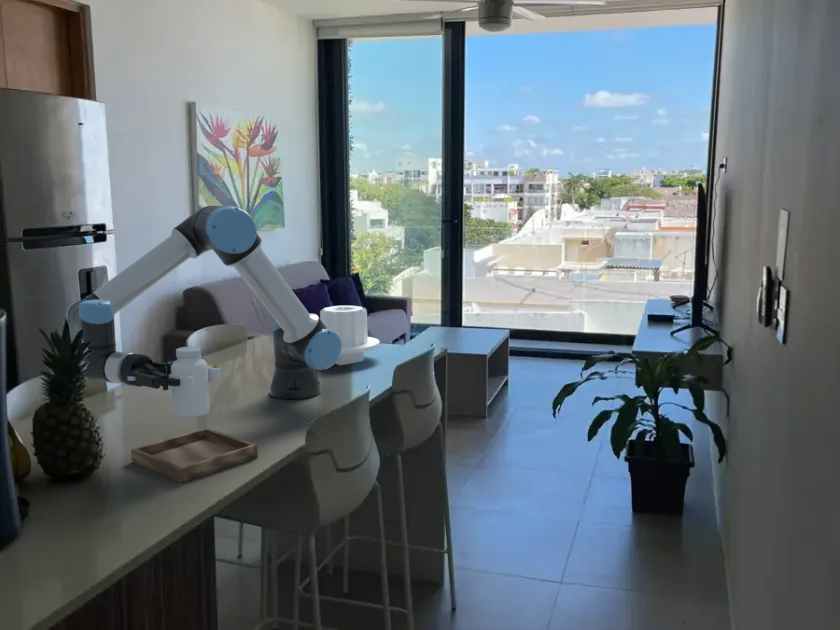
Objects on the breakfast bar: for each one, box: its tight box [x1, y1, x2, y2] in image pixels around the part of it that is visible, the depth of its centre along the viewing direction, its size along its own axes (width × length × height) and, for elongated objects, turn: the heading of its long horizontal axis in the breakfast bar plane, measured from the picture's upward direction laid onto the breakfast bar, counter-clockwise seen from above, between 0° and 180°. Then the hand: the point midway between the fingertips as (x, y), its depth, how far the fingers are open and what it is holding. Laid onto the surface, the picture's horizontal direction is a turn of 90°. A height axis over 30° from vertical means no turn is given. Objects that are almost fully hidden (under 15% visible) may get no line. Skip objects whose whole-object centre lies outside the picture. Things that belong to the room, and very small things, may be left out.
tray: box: [130, 427, 259, 484], centre depth 174 cm, size 20×20×3 cm
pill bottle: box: [171, 346, 210, 418], centre depth 171 cm, size 8×8×15 cm
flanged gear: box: [319, 305, 381, 366], centre depth 270 cm, size 25×25×19 cm
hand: (206, 378), depth 169 cm, fingers closed on pill bottle, 8 cm apart
